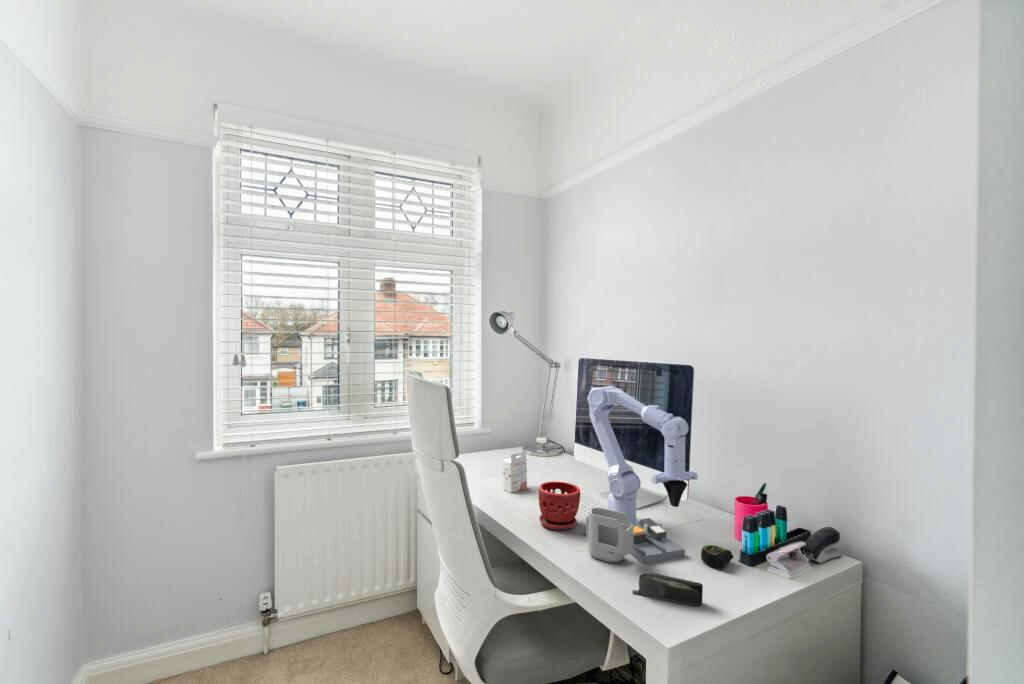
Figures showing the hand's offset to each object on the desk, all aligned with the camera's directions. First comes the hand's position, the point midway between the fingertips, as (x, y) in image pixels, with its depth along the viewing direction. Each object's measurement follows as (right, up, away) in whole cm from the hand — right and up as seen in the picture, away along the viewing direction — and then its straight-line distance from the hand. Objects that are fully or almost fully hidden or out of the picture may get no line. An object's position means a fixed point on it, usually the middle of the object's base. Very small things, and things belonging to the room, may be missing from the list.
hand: (674, 505), depth 137 cm
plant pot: (-33, -10, +11) cm, 36 cm away
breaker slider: (-13, -8, -6) cm, 16 cm away
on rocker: (-7, -6, -2) cm, 9 cm away
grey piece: (-21, -10, -12) cm, 26 cm away
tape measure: (+6, -10, -15) cm, 19 cm away
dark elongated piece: (-12, -11, -31) cm, 35 cm away
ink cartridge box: (-46, -10, +45) cm, 65 cm away
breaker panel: (-10, -10, -5) cm, 15 cm away
